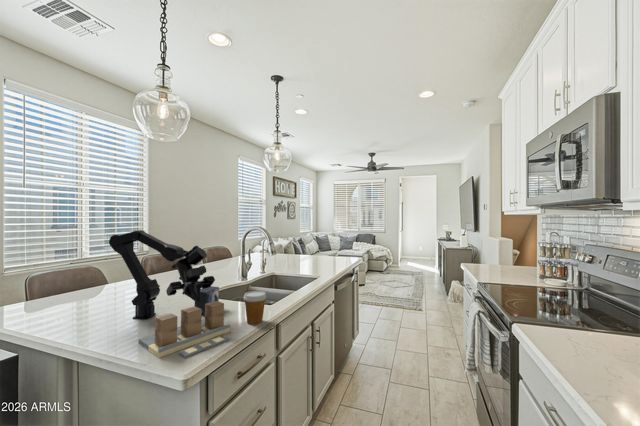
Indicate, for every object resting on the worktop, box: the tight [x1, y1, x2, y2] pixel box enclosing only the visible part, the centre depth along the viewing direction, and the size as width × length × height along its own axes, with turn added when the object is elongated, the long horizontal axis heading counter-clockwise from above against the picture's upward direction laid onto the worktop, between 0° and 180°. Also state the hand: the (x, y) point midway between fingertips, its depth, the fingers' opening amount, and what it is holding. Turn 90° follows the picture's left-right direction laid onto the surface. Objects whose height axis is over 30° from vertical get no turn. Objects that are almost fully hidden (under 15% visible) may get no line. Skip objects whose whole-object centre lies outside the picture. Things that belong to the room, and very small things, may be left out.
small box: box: [194, 285, 220, 316], centre depth 132 cm, size 11×6×10 cm, turn 168°
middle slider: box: [180, 305, 202, 338], centre depth 102 cm, size 5×5×9 cm
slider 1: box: [154, 312, 178, 348], centre depth 94 cm, size 5×5×9 cm
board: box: [138, 318, 231, 358], centre depth 104 cm, size 16×26×3 cm, turn 143°
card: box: [178, 335, 230, 359], centre depth 96 cm, size 4×16×1 cm, turn 143°
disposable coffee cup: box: [242, 290, 267, 326], centre depth 119 cm, size 10×10×12 cm
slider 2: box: [204, 301, 225, 330], centre depth 109 cm, size 5×5×9 cm
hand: (198, 302), depth 115 cm, fingers closed
